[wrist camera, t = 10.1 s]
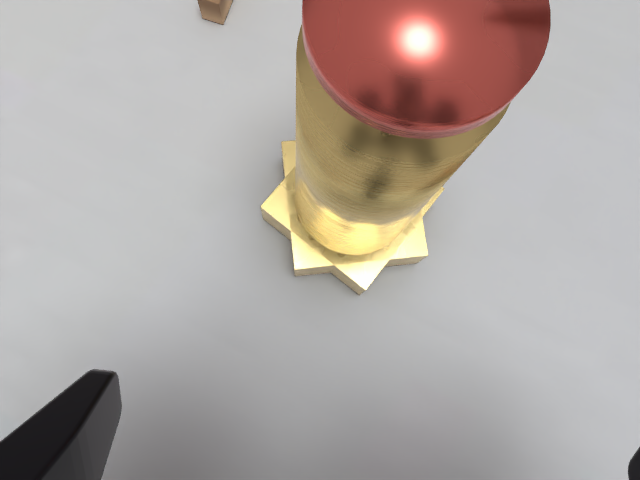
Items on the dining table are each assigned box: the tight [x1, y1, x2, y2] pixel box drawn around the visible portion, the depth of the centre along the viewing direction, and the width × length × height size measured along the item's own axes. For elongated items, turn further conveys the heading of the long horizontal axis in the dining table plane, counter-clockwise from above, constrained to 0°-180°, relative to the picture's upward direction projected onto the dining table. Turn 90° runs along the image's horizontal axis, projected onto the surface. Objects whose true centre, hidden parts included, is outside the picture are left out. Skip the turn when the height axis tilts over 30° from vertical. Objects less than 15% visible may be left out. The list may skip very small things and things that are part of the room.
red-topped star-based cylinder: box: [261, 0, 550, 295], centre depth 17 cm, size 7×7×14 cm
